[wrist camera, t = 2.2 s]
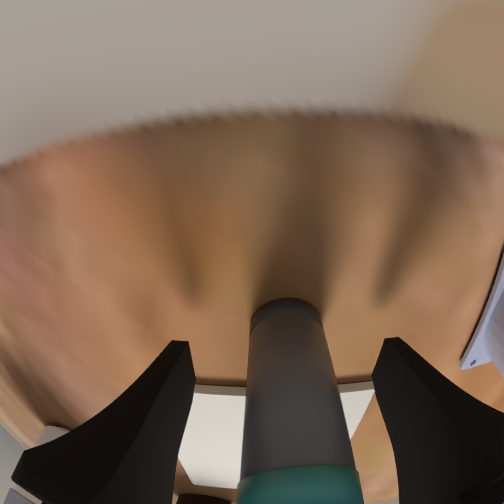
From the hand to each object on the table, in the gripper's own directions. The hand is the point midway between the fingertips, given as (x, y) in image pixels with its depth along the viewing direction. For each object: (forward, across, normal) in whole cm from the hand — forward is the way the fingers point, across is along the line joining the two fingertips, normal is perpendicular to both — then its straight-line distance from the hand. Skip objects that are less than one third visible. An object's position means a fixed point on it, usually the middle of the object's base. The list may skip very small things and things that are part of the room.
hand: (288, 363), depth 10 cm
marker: (+2, 0, 0) cm, 2 cm away
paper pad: (+2, +1, +12) cm, 12 cm away
